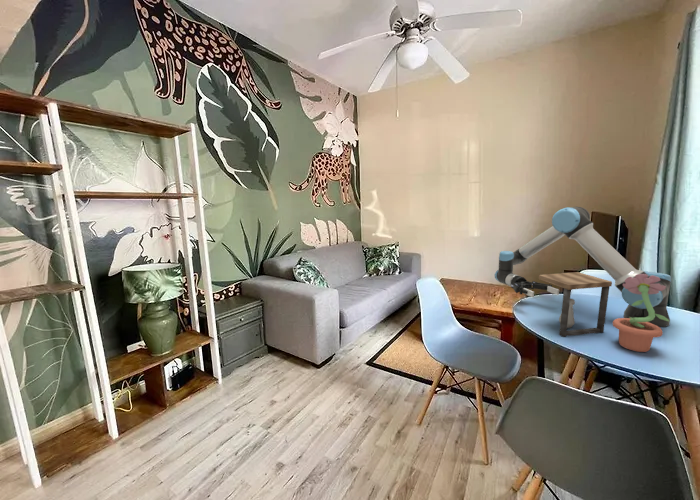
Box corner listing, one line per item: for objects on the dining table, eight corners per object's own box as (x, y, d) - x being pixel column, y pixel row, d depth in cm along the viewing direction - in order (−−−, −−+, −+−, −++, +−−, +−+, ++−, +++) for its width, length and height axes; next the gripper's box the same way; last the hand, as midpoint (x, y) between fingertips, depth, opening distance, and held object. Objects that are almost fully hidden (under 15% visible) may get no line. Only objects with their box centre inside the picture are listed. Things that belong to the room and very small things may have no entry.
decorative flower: (661, 346, 114) (674, 272, 108) (665, 362, 104) (680, 280, 98) (610, 335, 124) (619, 266, 118) (609, 348, 114) (619, 274, 108)
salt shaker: (560, 327, 132) (563, 300, 130) (556, 322, 137) (559, 296, 135) (576, 329, 130) (579, 301, 128) (571, 324, 136) (574, 297, 133)
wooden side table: (573, 318, 142) (578, 272, 138) (605, 332, 126) (612, 281, 122) (534, 321, 139) (538, 274, 135) (562, 337, 124) (568, 285, 119)
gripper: (536, 286, 167) (567, 298, 147) (495, 290, 164) (522, 302, 144) (536, 273, 166) (569, 284, 145) (496, 277, 163) (523, 288, 142)
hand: (545, 293), depth 144 cm, fingers open, 13 cm apart
